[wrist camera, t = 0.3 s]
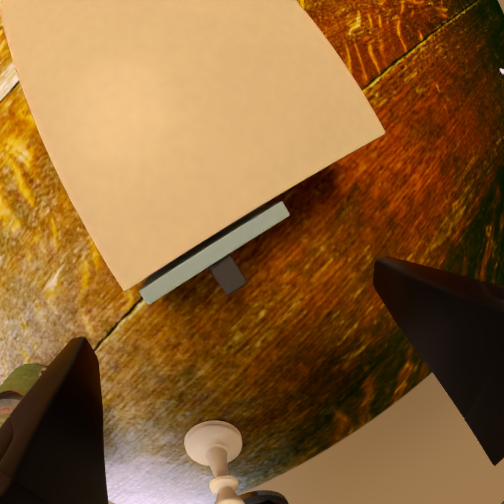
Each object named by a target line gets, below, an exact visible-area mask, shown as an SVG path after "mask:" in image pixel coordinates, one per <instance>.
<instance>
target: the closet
mask: <svg viewBox="0 0 504 504" xmlns="http://www.w3.org/2000/svg"><path fill="white" fill-rule="evenodd" d="M0 13H1V18H2V22H3V26H4V30H5V34H6V38H7V42H8V45H9V49H10V52H11V56H12V59H13V62H14V66H15V69H16V72H17V75H18V78H19V81H20V84H21V87H22V90H23V93H24V95H25V98H26V101H27V104H28V106H29V109H30V111H31V114H32V117H33V119H34V122H35V124H36V127H37V129H38V131H39V134H40V136H41V138H42V141H43V143H44V145H45V148H46V150H47V152H48V154H49V157H50V159H51V161H52V163H53V165H54V167H55V170H56V172H57V174H58V176H59V178H60V180H61V182H62V184H63V186H64V188H65V190H66V192H67V194H68V196H69V198H70V200H71V202H72V204H73V206H74V208H75V209H76V211H77V213H78V215H79V217H80V219H81V221H82V222H83V224H84V226H85V228H86V230H87V231H88V233H89V235H90V237H91V238H92V240H93V242H94V244H95V245H96V247H97V249H98V250H99V252H100V254H101V255H102V257H103V259H104V260H105V262H106V264H107V265H108V267H109V269H110V270H111V272H112V273H113V275H114V277H115V278H116V280H117V281H118V283H119V284H120V286H121V288H122V289H123V291H124V292H125V291H127V290H129V289H130V288H132V287H133V286H135V285H136V284H138V283H139V282H141V281H142V280H144V279H145V278H147V277H148V276H150V275H151V274H153V273H155V272H156V271H158V270H159V269H161V268H162V267H164V266H165V265H167V264H168V263H170V262H172V261H173V260H175V259H176V258H178V257H179V256H181V255H182V254H184V253H186V252H187V251H189V250H190V249H192V248H194V247H195V246H197V245H198V244H200V243H201V242H203V241H205V240H206V239H208V238H209V237H211V236H213V235H214V234H216V233H217V232H219V231H221V230H222V229H224V228H225V227H227V226H229V225H230V224H232V223H234V222H235V221H237V220H238V219H240V218H242V217H243V216H245V215H247V214H248V213H250V212H252V211H253V210H255V209H256V208H258V207H260V206H261V205H263V204H265V203H266V202H268V201H270V200H271V199H273V198H275V197H276V196H278V195H280V194H281V193H283V192H285V191H286V190H288V189H290V188H292V187H293V186H295V185H297V184H298V183H300V182H302V181H303V180H305V179H307V178H309V177H310V176H312V175H314V174H315V173H317V172H319V171H321V170H322V169H324V168H326V167H327V166H329V165H331V164H333V163H334V162H336V161H338V160H340V159H341V158H343V157H345V156H347V155H348V154H350V153H352V152H354V151H355V150H357V149H359V148H361V147H363V146H364V145H366V144H368V143H370V142H372V141H373V140H375V139H377V138H379V137H381V136H382V135H384V134H386V132H385V130H384V128H383V126H382V125H381V123H380V121H379V119H378V117H377V116H376V114H375V112H374V110H373V109H372V107H371V105H370V104H369V102H368V100H367V99H366V97H365V95H364V94H363V92H362V90H361V89H360V87H359V85H358V84H357V82H356V81H355V79H354V78H353V76H352V75H351V73H350V71H349V70H348V68H347V67H346V65H345V64H344V63H343V61H342V60H341V58H340V57H339V55H338V54H337V52H336V51H335V50H334V48H333V47H332V45H331V44H330V43H329V41H328V40H327V38H326V37H325V36H324V34H323V33H322V32H321V30H320V29H319V28H318V26H317V25H316V24H315V23H314V21H313V20H312V19H311V18H310V16H309V15H308V14H307V13H306V11H305V10H304V9H303V8H302V6H301V5H300V4H299V3H298V2H297V0H0Z"/></svg>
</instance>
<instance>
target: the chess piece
mask: <svg viewBox="0 0 504 504" xmlns="http://www.w3.org/2000/svg"><path fill="white" fill-rule="evenodd" d="M184 445H185V449H186V452H187V454H188V455H189V457H190V458H191V459H192V460H194V461H195V462H197V463H199V464H202V465H206V466H210V467H211V470H212V472H213V475H214V477H215V478H214V479H212V480H211V481H210V483H209V488H210V490H211V491H212V492H213V493H214V494H217V499H216V502H215V504H245V503H244V502H243V500H242V499H241V498H240V497H239V496H238V495H237V494H236V493H235V491H236V490H237V489H238V485H239V482H238V480H237V479H236V478H234V477H232V476H229V475H228V466H227V463H229V462H230V461H232V460H234V459H235V458H236V457H237V456H238V455H239V453H240V452H241V449H242V437H241V434H240V432H239V430H238V429H237V428H236V427H235V426H233V425H232V424H230V423H227V422H224V421H217V420H212V421H205V422H202V423H199V424H197V425H195V426H194V427H192V428H191V429H190V430H189V431H188V433H187V434H186V436H185V439H184Z"/></svg>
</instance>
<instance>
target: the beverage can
mask: <svg viewBox="0 0 504 504" xmlns="http://www.w3.org/2000/svg"><path fill="white" fill-rule="evenodd" d="M46 369H47V368H46V367H44V366H41V365H38V364H24V365H21V366H19V367H17V368H16V369H15V370H14V371H13V372H12V373H11V374H10V375H9V377H8V378H7V379H6V380H5V381H4V383H3V384H2V385H1V386H0V427H1V426H2V424H3V423H4V422H5V420H6V419H7V418H8V417H10V416H9V415H10V414H11V412H12V411H13V410H14V408H15V407H16V406H17V405H18V403H19V402H20V401H21V399H22V398H23V397H24V396H25V394H26V393H27V392H28V391H29V389H30V388H31V387H32V386H33V384H34V383H35V382H36V381H37V380H38V378H39V377H40V376H41V375H42V373H43V372H44V371H45V370H46Z"/></svg>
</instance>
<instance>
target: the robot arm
mask: <svg viewBox="0 0 504 504" xmlns="http://www.w3.org/2000/svg"><path fill="white" fill-rule="evenodd" d="M373 285H374V288H375V290H376V291H377V293H378V294H379V296H380V298H381V299H382V301H383V302H384V304H385V306H386V307H387V309H388V310H389V312H390V314H391V315H392V317H393V319H394V320H395V322H396V323H397V325H398V326H399V327H400V329H401V330H402V331H403V333H404V334H405V335H406V337H407V338H408V339H409V341H410V342H411V343H412V345H413V346H414V347H415V349H416V350H417V351H418V353H419V354H420V356H421V357H422V358H423V360H424V361H425V362H426V364H427V365H428V367H429V368H430V369H431V371H432V372H433V374H434V375H435V376H436V378H437V379H438V381H439V382H440V384H441V385H442V386H443V388H444V389H445V391H446V392H447V394H448V395H449V397H450V398H451V399H452V401H453V403H454V404H455V405H456V407H457V408H458V410H459V411H460V413H461V414H462V416H463V417H464V419H465V421H466V422H467V424H468V425H469V427H470V429H471V430H472V432H473V433H474V435H475V436H476V438H477V440H478V441H479V443H480V444H481V446H482V447H483V449H484V451H485V453H486V454H487V456H488V457H489V459H490V461H491V462H492V464H493V465H494V466H495V465H496V464H498V463H499V462H500V461H501V460H502V459H503V458H504V287H503V286H499V285H495V284H491V283H488V282H484V281H480V280H477V279H473V278H469V277H466V276H462V275H458V274H454V273H451V272H447V271H443V270H439V269H435V268H431V267H428V266H424V265H420V264H416V263H412V262H408V261H404V260H400V259H396V258H392V257H388V256H386V257H382V258H379V259H377V260H376V261H375V264H374V276H373ZM9 416H10V417H8V418H7V419H6V420H5V422H4V423H3V424H2V426H1V427H0V504H108V495H107V486H106V474H105V460H104V439H103V404H102V394H101V384H100V372H99V362H98V358H97V356H96V354H95V352H94V351H93V349H92V347H91V346H90V344H89V342H88V340H87V339H86V338H85V337H78V338H73V339H72V340H71V341H70V342H69V343H68V344H67V345H66V346H65V347H64V349H63V350H62V351H61V352H60V353H59V354H58V356H57V357H56V358H55V359H54V360H53V361H52V363H51V364H50V365H49V366H48V367H47V369H46V370H45V371H44V372H43V373H42V375H41V376H40V377H39V378H38V380H37V381H36V382H35V383H34V384H33V386H32V387H31V388H30V389H29V391H28V392H27V393H26V394H25V396H24V397H23V398H22V399H21V401H20V402H19V403H18V405H17V406H16V407H15V408H14V410H13V411H12V412H11V414H10V415H9ZM259 504H276V503H274V502H273V501H272V500H265V501H263V502H261V503H259ZM502 504H504V502H503V503H502Z"/></svg>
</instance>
